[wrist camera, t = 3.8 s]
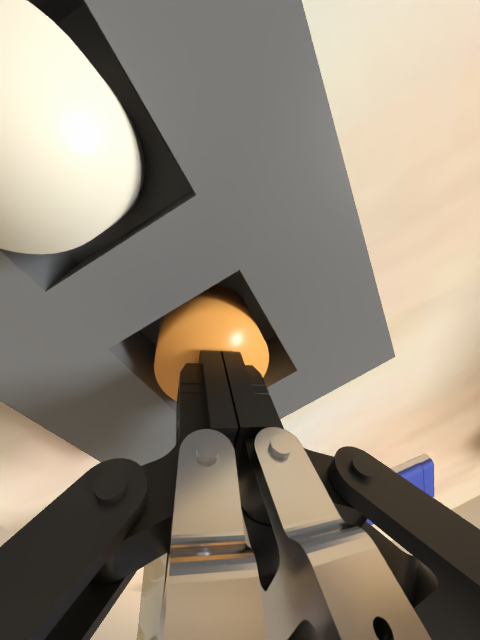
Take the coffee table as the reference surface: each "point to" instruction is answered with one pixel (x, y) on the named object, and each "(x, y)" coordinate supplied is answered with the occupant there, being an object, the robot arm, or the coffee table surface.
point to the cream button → (59, 140)
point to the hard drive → (417, 474)
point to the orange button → (207, 335)
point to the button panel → (196, 226)
